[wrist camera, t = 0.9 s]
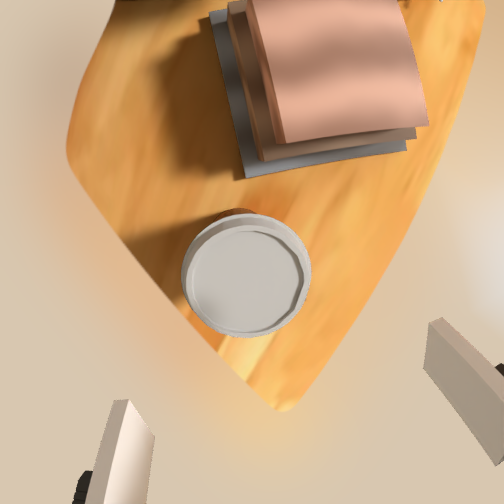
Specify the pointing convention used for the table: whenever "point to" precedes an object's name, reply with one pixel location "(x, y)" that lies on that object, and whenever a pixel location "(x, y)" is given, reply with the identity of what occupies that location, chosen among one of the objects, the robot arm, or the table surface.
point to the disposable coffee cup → (246, 274)
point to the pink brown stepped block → (317, 80)
